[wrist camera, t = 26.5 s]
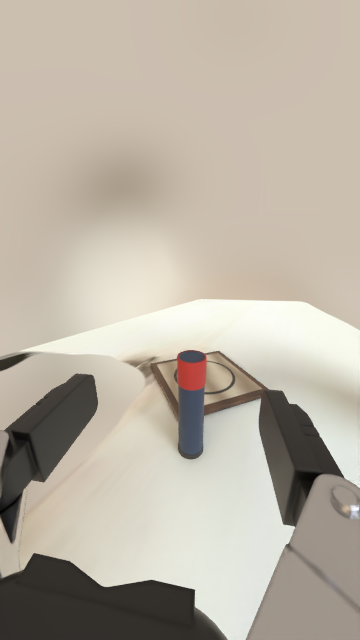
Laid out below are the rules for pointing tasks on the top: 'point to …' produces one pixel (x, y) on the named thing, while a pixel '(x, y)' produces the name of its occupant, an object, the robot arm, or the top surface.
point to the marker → (191, 402)
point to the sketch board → (212, 383)
